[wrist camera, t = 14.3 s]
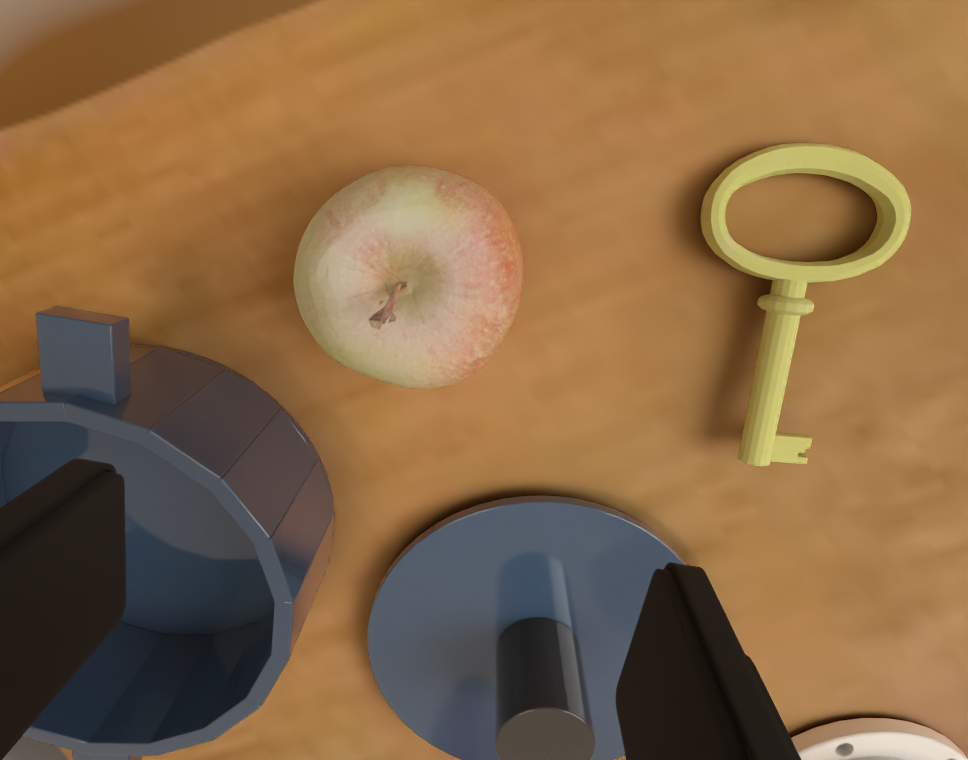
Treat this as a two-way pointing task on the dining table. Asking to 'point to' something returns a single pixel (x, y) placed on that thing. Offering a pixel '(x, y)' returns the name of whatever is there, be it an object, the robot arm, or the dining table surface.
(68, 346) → the pot
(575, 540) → the lid
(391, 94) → the dining table surface
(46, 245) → the dining table surface
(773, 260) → the key
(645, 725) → the robot arm
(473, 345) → the fruit
